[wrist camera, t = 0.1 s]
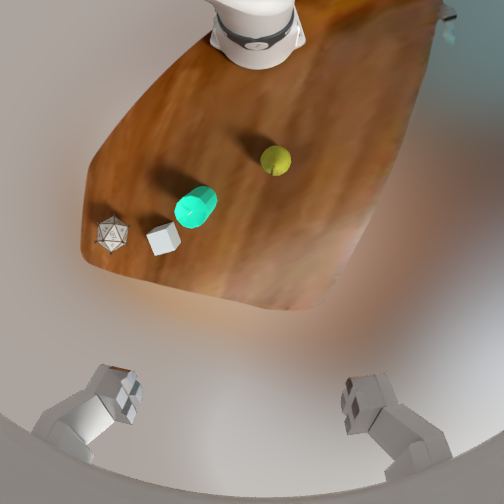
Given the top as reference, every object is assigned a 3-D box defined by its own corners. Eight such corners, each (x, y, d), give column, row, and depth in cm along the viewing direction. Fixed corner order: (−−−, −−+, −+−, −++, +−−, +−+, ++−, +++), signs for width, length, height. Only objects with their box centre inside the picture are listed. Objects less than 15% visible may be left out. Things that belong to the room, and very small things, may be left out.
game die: (105, 209, 58) (82, 221, 49) (135, 208, 57) (114, 221, 48) (110, 243, 61) (90, 260, 52) (139, 244, 61) (121, 262, 52)
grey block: (154, 227, 59) (146, 234, 55) (173, 221, 59) (166, 228, 54) (162, 247, 61) (155, 255, 56) (181, 241, 60) (174, 250, 56)
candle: (189, 212, 57) (172, 230, 46) (189, 185, 55) (171, 196, 44) (216, 213, 57) (205, 232, 46) (217, 186, 55) (205, 198, 44)
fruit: (288, 144, 51) (294, 145, 40) (289, 172, 53) (296, 181, 42) (259, 146, 51) (258, 147, 40) (261, 174, 54) (260, 183, 43)
